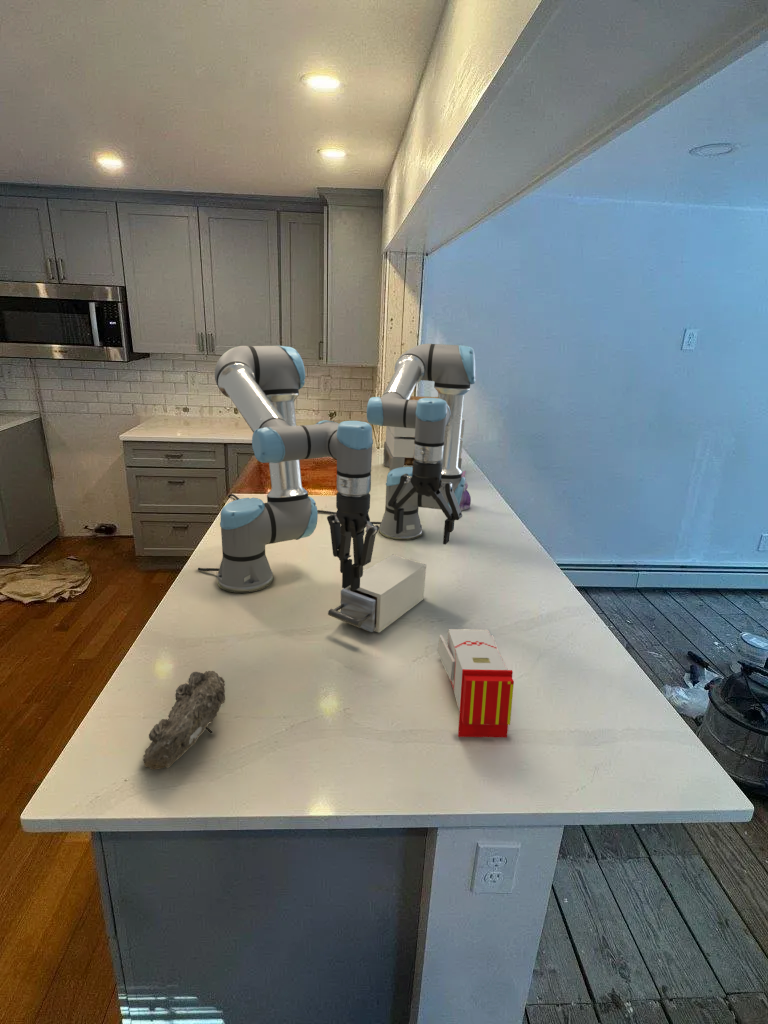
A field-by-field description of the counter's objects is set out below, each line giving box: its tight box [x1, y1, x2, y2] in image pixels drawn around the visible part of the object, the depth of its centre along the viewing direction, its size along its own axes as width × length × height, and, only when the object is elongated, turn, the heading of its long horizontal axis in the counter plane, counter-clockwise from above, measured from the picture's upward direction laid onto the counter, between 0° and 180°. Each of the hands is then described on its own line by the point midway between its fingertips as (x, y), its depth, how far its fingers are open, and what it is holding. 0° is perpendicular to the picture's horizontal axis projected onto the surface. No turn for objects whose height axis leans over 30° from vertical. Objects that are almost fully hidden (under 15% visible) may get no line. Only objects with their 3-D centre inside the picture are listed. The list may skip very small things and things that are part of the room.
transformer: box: [383, 395, 465, 472], centre depth 268 cm, size 34×33×41 cm
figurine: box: [459, 470, 472, 512], centre depth 227 cm, size 9×10×15 cm
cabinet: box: [345, 553, 427, 633], centre depth 148 cm, size 22×11×10 cm, turn 146°
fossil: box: [142, 670, 226, 771], centre depth 103 cm, size 22×10×15 cm
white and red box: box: [437, 628, 515, 738], centre depth 117 cm, size 12×13×30 cm
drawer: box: [327, 588, 377, 633], centre depth 144 cm, size 26×10×8 cm, turn 146°
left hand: (350, 587), depth 133 cm, fingers closed
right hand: (422, 537), depth 152 cm, fingers open, 13 cm apart
